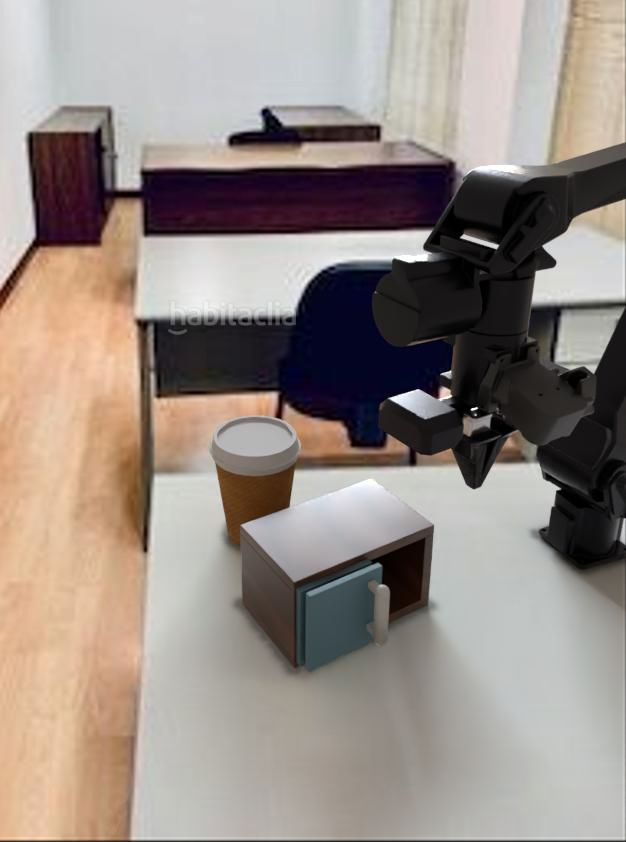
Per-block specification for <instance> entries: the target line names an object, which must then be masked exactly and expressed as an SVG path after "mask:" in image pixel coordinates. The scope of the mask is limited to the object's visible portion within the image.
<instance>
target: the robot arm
mask: <svg viewBox="0 0 626 842" xmlns="http://www.w3.org/2000/svg"><path fill="white" fill-rule="evenodd" d="M624 200H626V141H625V142H622V143H621V142H620V143H618V144H615V145H611V146H607V147H605V148H601V149H598V150H594V151H592V152H588V153H584V154H581V155H578V156H574V157H570V158H568V159H563V160H561V161H558V162H554V163H551V164H545V165H544V164H543V165H529V164H528V165H527V164H526V165H525V164H523V165H522V164H503V165H502V164H501V165H500V164H499V165H487V166H486V165H485V166H479V167H476V168H474V169H472V170H470V171H468V172H467V173H466V174H465V175H464V176H463V178H462V183H461V184H460V186H459V188H458V189H457V191H456V192H455V194H454V195H453V197H452V199H451V201H450V202H449V203H448V205H447V207H446V208H445V210H444V211H443V213H442V214H441V216H440V217H439V219H438V221H437V223H436V224H435V226H434V227H433V229H432V230H431V232H430V233H429V235H428V237H427V239H426V240H425V241H424V243H423V245H422V250H423V251H424V252H427V253H429V254H421V255H416V256H415V255H414V256H413V255H400V256H394V257H393V258H392V259H391V272H389V273H386V274H384V275H383V276H382V277H381V278H380V279H379V281H378V283H377V285H376V287H375V291H374V292H373V293H372V296H371V297H372V298H371V307H372V308H371V310H372V315H373V319H374V323H375V325H376V328H377V330H378V332H379V333H380V335H381V336H382V338H383V339H384V340H385V341H386V342H387V343H388V344H390V345H391V346H393V347H397V348H404V347H409V346H414V345H417V344H418V345H419V344H422V343H427V342H432V341H436V340H441V339H442V340H443V342H445V343H447V344H449V345H451V346H453V347H452V358H451V368H450V370H449V371H446V372H442V373H440V374H439V383H438V384H439V386H441V387H443V388H445V389H447V390H449V391H450V392H449V394H450V396H449V395H448V396H446V397H442V398H439V399H438V398H436V397H434V396H432V395H430V394H428V393H426V392H425V391H423V390H422V389H420V388H419V389H415V390H411V391H408V392H405V393H401V394H397V395H395V396H392V397H388V398H386V399H385V400H384V401H382V402H381V403H379V409H378V422H377V423H378V424H377V425H378V426H377V428H378V429H379V430H381V431H382V432H384V433H386V434H387V435H389V436H390V437H392V438H393V439H395V440H397V441H398V442H400V443H401V444H403V445H404V446H406V447H408V448H409V449H410V450H412V451H414V452H416V453H417V454H419V455H420V456H428V457H430V456H431V457H432V456H434V455H437V454H440V453H442V452H446V451H449V450H451V451H452V455H453V457H454V459H455V461H456V464H457V466H458V469H459V471H460V474H461V476H462V479H463V480H464V483H465V485H466V486H467V487H469V488H470V489H472V490H477V489H479V488H482V486H483V484H484V482H485V481H486V479H487V477H488V475H489V473H490V471H491V469H492V467H493V466H494V464H495V462H496V459H497V458H498V456H499V454H500V452H501V451H502V449H503V447H504V445H505V444H506V442H507V441H508V439H509V438H510V437H511V436H512V435H514V434H515V433H518V432H520V434H521V436H522V438H523V439H524V440H525V441H527V442H528V443H530V444H532V445H535V446H537V447H536V453H535V456H536V458H537V459H538V464H539V467H540V471H541V476H542V479H543V481H546V482H549V483H551V484H552V485H554V486H556V487H557V488H559V489H557V490H555V496H554V503H553V505H552V506H551V508H550V514H549V521H548V525H546V526H542V527H539V529H538V534H539V535H540V536H541V538H542V539H544V540H546V542H548V543H549V544H550V545H551V546H552V547H553V548H555V550H557V551H558V552H559V553H561V554H562V555H563V556H564V557H565V558H567V559H568V560H569V561H571V563H572V564H574V565H575V566H576V567H577V568H578V569H582V570H585V569H588V568H592V567H596V566H599V565H602V564H607V563H609V562H610V563H611V562H613V561H616V560H620V559H623V558H626V544H625V543H624V542H622V541H621V538H622V537H621V536H622V531H623V526H624V521H625V520H626V305H625V306H624V307H623V311H622V312H621V315H620V317H619V319H618V320H617V324H616V325H615V328H614V330H613V332H612V334H611V336H610V339H609V340H608V343H607V345H606V347H605V349H604V351H603V353H602V356H601V357H600V359H599V362H598V364H597V366H596V368H595V370H594V372H592V371H591V370H589V368H587V367H586V366H584V365H581V366H578V367H575V368H572V369H570V368H567V367H565V366H562V365H560V364H558V363H555V362H554V361H551V360H548V359H545V358H543V357H541V356H540V353H541V347H540V346H539V340H538V339H536V338H533V337H531V336H529V335H528V334H529V327H530V319H531V311H532V305H533V304H532V303H533V296H534V290H535V282H536V281H535V280H536V275H537V274H536V272H540V271H545V270H550V269H554V268H555V267H556V266H557V263H558V261H557V260H556V258H554V257H553V255H551V254H550V253H549V252H548V251H547V250H546V249H545V248H544V246H545V245H546V244H549V243H550V242H552V241H554V240H555V239H557V238H560V236H562V235H564V234H565V233H566V232H567V231H568V230H569V227H570V225H571V223H572V222H573V220H574V219H576V218H577V217H579V216H580V215H582V214H586V213H589V212H592V211H594V210H597V209H601V208H603V207H606V206H609V205H612V204H615V203H619V202H621V201H624ZM464 235H465V236H467V237H471V238H474V239H477V240H481V241H484V242H488V243H490V244H493V245H496V246H497V248H495V247H493V246H488V245H485V244H481V243H479V242H475V241H473V240H470V239H469V240H468V239H465V238H462V237H463V236H464Z"/></svg>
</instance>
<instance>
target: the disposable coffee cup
mask: <svg viewBox="0 0 626 842" xmlns="http://www.w3.org/2000/svg"><path fill="white" fill-rule="evenodd" d="M208 448H209V453H210V456H211V458H212V460H213V461H214V464H215V469H216V475H217V480H218V486H219V491H220V498H221V502H222V507H223V513H224V518H225V524H226V529H227V536H228V538H229V540H230V541H231V543H232V544H233V545H235V546H237V547H239V548H241V541H240V525H242V524H245V523H247V522H250V521H253V520H256V519H258V518H261V517H264V516H267V515H270V514H272V513H275V512H278V511H281V510H284V509H286V508H289V507H291V500H292V491H293V485H294V478H295V472H296V471H295V470H296V466H297V465H296V464H297V460H298V458H299V456H300V454H301V450H302V443H301V439H300V438H299V437H298V434H297V431H296V429H295V428H294V426H293V425H291V424H290V423H288V422H287V421H286V420H283V419H280V418H277V417H275V416H267V415H257V414H255V415H254V414H253V415H243V416H238V417H235V418H231V419H229V420H226V421H224V422H222V423H221V424H220V425H219V426H217V427H216V429H215V430H214V432H213V436H212V438H211V440H210V442H209V447H208Z"/></svg>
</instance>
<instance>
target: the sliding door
mask: <svg viewBox="0 0 626 842" xmlns="http://www.w3.org/2000/svg"><path fill="white" fill-rule="evenodd" d="M389 601H390V590H389V588H388V587H387V586H386V585H382V565H381V564H379V563H376V564H373V565H371V566H369V567H366V568H364V569H361V570H359V571H357V572H354V573H352V574H350V575H347V576H345V577H343V578H340V579H338V580H335V581H333V582H331V583H328V584H326V585H324V586H321V587H319V588H316V589H314V590H312V591H309V592H307V593H306V628H305V665H304V666H305V667H304V668H305V669H306V671H307V672H308V673H310V672H313V671H315V670H317V669H319V668H321V667H323V666H325V665H328V664H329V663H331V662H333V661H335V660H337V659H340V658H342V657H344V656H345V655H348V654H350V653H352V652H354V651H356V650H358V649H361V648H362V647H365V646H367V645H369V644H371V643H374V644H375V645H376V646H378V647H382V646H385V645H386V644H387V642H388V635H389V634H388V633H389V624H388V619H389Z"/></svg>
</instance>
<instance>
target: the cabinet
mask: <svg viewBox="0 0 626 842" xmlns="http://www.w3.org/2000/svg"><path fill="white" fill-rule="evenodd" d="M434 534H435V524H434V523H432V522H431V521H430V520H429V519H427V518H426V517H424V516H423V515H422V514H420V513H419V512H418V511H416V510H415V509H414V508H412V507H411V506H410V505H408V504H407V503H405V502H404V501H403V500H401V499H400V498H399V497H397V495H395V494H393V492H391V491H390V490H388V489H387V488H385V487H384V486H383V485H382V484H380V483H379V482H377V481H376V480H375V479H374V478H367V479H364V480H362V481H358V482H356V483H354V484H351V485H348V486H346V487H343V488H340V489H337V490H334V491H331V492H329V493H328V492H327V493H325V494H322V495H320V496H318V497H317V496H316V497H314V498H312V499H309V500H306V501H303V502H301V503H298V504H295V505H293V506H290V507H289V508H286V509H284V510H281V511H278V512H275V513H272V514H270V515H267V516H264V517H261V518H258V519H256V520H253V521H250V522H247V523H245V524H242V525H240V541H241V547H240V568H241V569H240V570H241V604H242V606H243V607H244V609H246V611H247V612H248V613H249V614H250V616H251V617H252V618H253V619H254V621H255V622H256V623H257V624H258V626H259V627H260V628H261V630H262V631H263V632H264V633H265V634H266V636H267V637H268V638H269V639H270V641H271V642H272V643H273V645H275V647H276V648H277V649H278V651H279V652H280V653H281V654H282V656H283V657H284V658H285V659H286V660H287V661H288V663H289V664H290V665H291V666H292V668H293V669H296V668H298V667H299V668H301V667H303V666H305V628H306V593H307V592H309V591H312V590H314V589H316V588H319V587H321V586H324V585H326V584H328V583H331V582H333V581H335V580H338V579H340V578H343V577H345V576H347V575H350V574H352V573H354V572H357V571H359V570H361V569H364V568H366V567H369V566H371V565H373V564H376V563H379V564H381V565H382V585H386V586H387V587H388V588H389V590H390V601H389V619H388V625H389V624H391V623H393V622H396V621H398V620H400V619H402V618H404V617H406V616H408V615H410V614H413V613H415V612H417V611H418V610H421V609H423V608H425V607H428V606H429V600H430V587H431V586H430V585H431V572H432V562H433V561H432V560H433V559H432V558H433V550H434V549H433V548H434V536H435V535H434Z"/></svg>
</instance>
